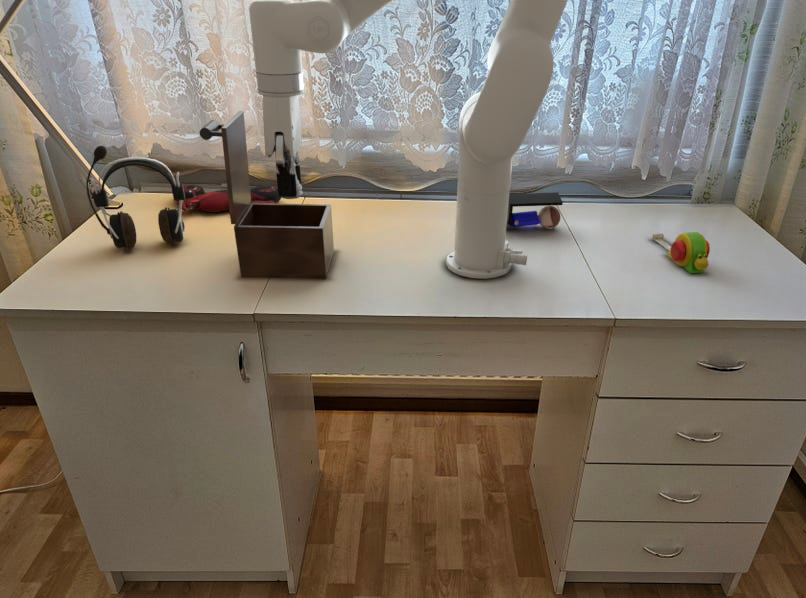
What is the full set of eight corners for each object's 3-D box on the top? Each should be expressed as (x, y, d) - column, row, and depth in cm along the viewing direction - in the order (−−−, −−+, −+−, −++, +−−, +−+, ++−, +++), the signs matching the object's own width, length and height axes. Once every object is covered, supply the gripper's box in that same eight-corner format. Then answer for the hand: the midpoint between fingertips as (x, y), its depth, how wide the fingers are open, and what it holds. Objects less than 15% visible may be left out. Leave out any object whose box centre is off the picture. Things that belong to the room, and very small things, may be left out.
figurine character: (494, 239, 143) (563, 232, 142) (492, 205, 139) (563, 198, 138) (490, 227, 149) (557, 221, 148) (489, 195, 144) (557, 188, 144)
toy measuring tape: (685, 278, 125) (693, 246, 121) (642, 239, 141) (648, 209, 137) (716, 277, 126) (725, 244, 122) (670, 238, 142) (677, 209, 138)
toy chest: (333, 251, 132) (331, 204, 126) (326, 279, 121) (322, 228, 116) (255, 250, 131) (249, 202, 126) (241, 277, 121) (233, 226, 115)
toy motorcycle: (180, 201, 158) (156, 214, 143) (178, 179, 156) (153, 190, 141) (285, 206, 159) (272, 219, 144) (284, 184, 157) (271, 195, 142)
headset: (100, 258, 126) (72, 153, 116) (103, 243, 132) (76, 142, 122) (194, 248, 131) (175, 146, 121) (192, 234, 137) (174, 136, 127)
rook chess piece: (303, 191, 121) (299, 147, 117) (303, 199, 117) (299, 154, 113) (278, 192, 120) (274, 147, 116) (277, 200, 117) (273, 154, 112)
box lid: (243, 111, 117) (213, 109, 117) (225, 128, 106) (192, 126, 106) (251, 200, 126) (222, 199, 126) (235, 224, 115) (204, 222, 115)
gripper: (267, 74, 116) (278, 177, 126) (246, 92, 102) (259, 207, 111) (310, 75, 116) (317, 178, 126) (294, 93, 102) (304, 208, 112)
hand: (290, 190), depth 118 cm, fingers closed on rook chess piece, 4 cm apart
